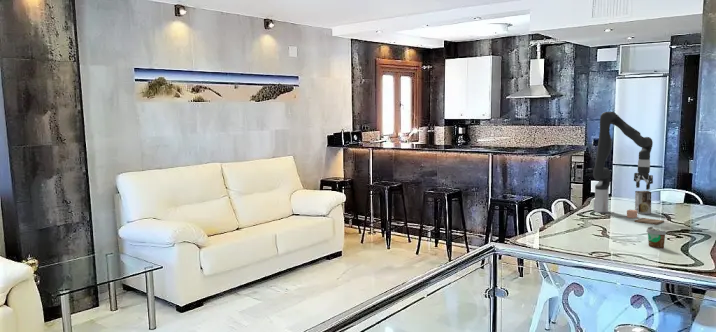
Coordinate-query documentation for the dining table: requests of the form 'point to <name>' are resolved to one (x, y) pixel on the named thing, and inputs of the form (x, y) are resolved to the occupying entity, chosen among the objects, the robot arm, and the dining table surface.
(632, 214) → the terracotta cube
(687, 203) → the dining table surface
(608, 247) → the dining table surface
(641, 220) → the walnut board
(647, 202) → the coffee box
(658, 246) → the food container
